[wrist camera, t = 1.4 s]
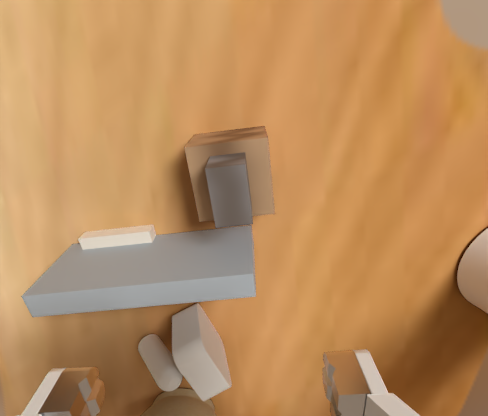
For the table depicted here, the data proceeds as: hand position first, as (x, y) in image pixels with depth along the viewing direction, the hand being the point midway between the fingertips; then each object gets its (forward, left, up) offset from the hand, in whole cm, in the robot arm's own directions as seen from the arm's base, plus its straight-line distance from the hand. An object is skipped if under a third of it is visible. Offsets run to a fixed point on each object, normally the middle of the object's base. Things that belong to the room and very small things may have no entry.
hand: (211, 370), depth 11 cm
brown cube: (0, -1, -23) cm, 23 cm away
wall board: (+9, +8, -23) cm, 26 cm away
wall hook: (+10, +21, -23) cm, 33 cm away
